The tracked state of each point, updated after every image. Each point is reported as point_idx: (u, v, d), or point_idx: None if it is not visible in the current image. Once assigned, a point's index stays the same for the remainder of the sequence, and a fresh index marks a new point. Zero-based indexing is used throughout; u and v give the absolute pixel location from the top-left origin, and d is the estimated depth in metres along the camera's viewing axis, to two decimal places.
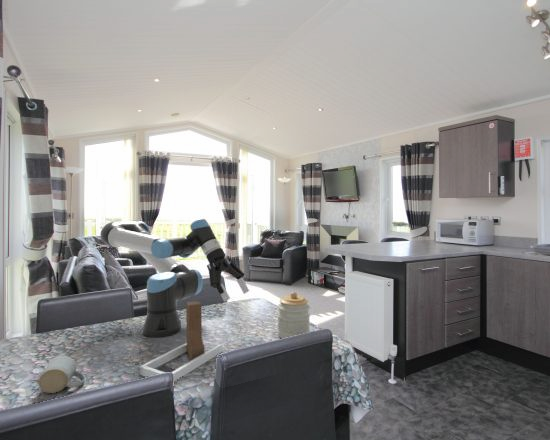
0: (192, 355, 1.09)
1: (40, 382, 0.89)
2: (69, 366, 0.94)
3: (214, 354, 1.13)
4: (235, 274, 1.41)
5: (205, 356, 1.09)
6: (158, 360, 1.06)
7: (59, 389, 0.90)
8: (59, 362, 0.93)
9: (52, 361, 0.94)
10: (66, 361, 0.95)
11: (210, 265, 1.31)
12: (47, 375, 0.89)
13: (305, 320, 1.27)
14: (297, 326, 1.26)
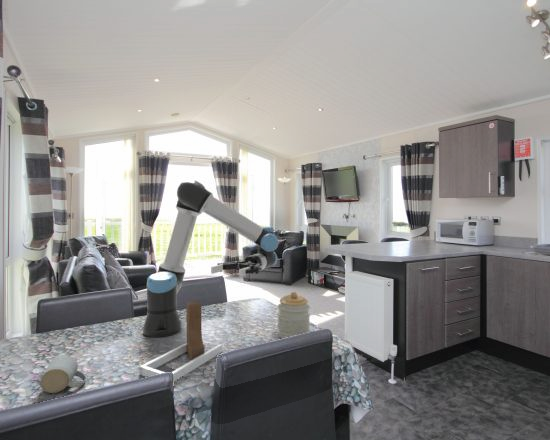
0: (192, 355, 1.09)
1: (42, 382, 0.89)
2: (70, 366, 0.94)
3: (214, 354, 1.13)
4: (228, 267, 1.38)
5: (205, 356, 1.09)
6: (158, 360, 1.06)
7: (61, 389, 0.90)
8: (60, 362, 0.93)
9: (53, 361, 0.94)
10: (67, 361, 0.95)
11: (261, 268, 1.38)
12: (49, 375, 0.89)
13: (305, 320, 1.27)
14: (297, 326, 1.26)
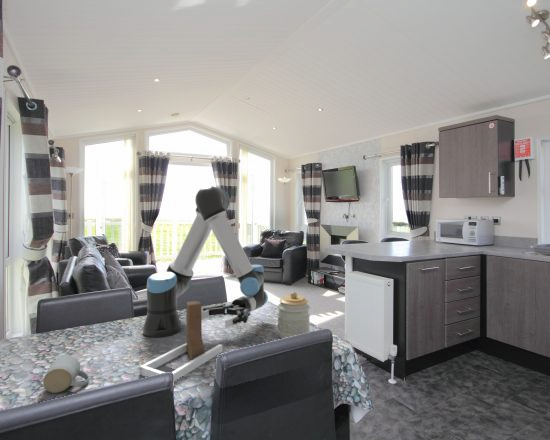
0: (192, 355, 1.09)
1: (45, 382, 0.89)
2: (73, 366, 0.95)
3: (214, 354, 1.13)
4: (214, 312, 1.30)
5: (205, 356, 1.09)
6: (158, 360, 1.06)
7: (63, 388, 0.91)
8: (63, 362, 0.94)
9: (56, 361, 0.94)
10: (70, 361, 0.95)
11: (249, 313, 1.30)
12: (52, 375, 0.89)
13: (305, 320, 1.27)
14: (297, 326, 1.26)
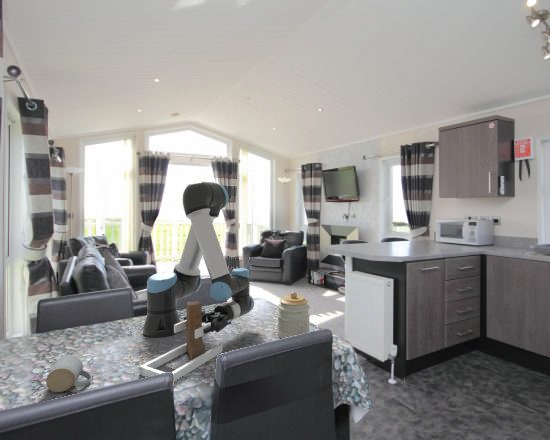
0: (192, 355, 1.09)
1: (47, 381, 0.89)
2: (76, 365, 0.95)
3: (214, 354, 1.13)
4: None
5: (205, 356, 1.09)
6: (158, 360, 1.06)
7: (66, 388, 0.91)
8: (66, 361, 0.94)
9: (59, 360, 0.95)
10: (73, 360, 0.95)
11: (229, 322, 1.20)
12: (55, 374, 0.90)
13: (305, 320, 1.27)
14: (297, 326, 1.26)
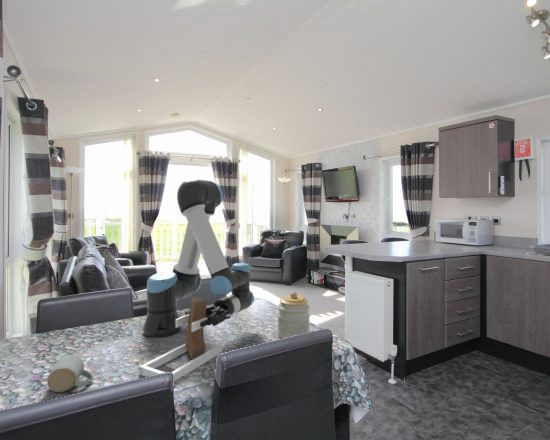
0: (193, 352, 1.08)
1: (49, 381, 0.89)
2: (77, 365, 0.95)
3: (214, 354, 1.13)
4: None
5: (205, 356, 1.09)
6: (158, 360, 1.06)
7: (67, 388, 0.91)
8: (67, 361, 0.94)
9: (60, 360, 0.95)
10: (74, 360, 0.95)
11: (228, 316, 1.20)
12: (56, 374, 0.90)
13: (305, 320, 1.27)
14: (297, 326, 1.26)
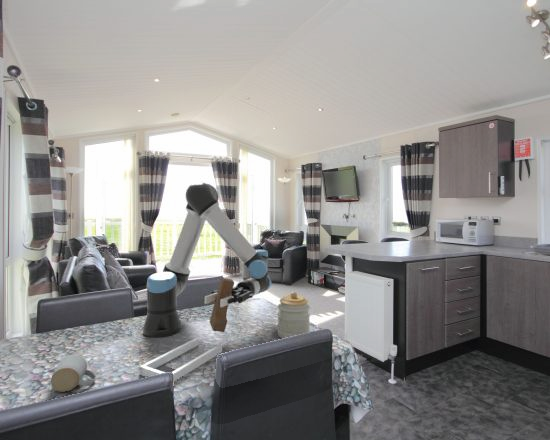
0: (215, 325, 1.19)
1: (52, 381, 0.90)
2: (80, 365, 0.95)
3: (214, 354, 1.13)
4: None
5: (205, 356, 1.09)
6: (158, 360, 1.06)
7: (71, 388, 0.91)
8: (71, 361, 0.94)
9: (63, 360, 0.95)
10: (77, 360, 0.96)
11: (251, 296, 1.32)
12: (59, 374, 0.90)
13: (305, 320, 1.27)
14: (297, 326, 1.26)
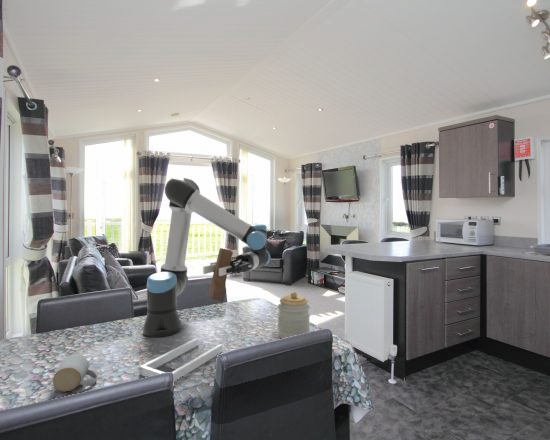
0: (214, 293, 1.19)
1: (54, 380, 0.90)
2: (82, 365, 0.95)
3: (214, 354, 1.13)
4: None
5: (205, 356, 1.09)
6: (158, 360, 1.06)
7: (73, 387, 0.91)
8: (72, 361, 0.94)
9: (65, 360, 0.95)
10: (79, 360, 0.96)
11: (250, 267, 1.31)
12: (61, 374, 0.90)
13: (305, 320, 1.27)
14: (297, 326, 1.26)
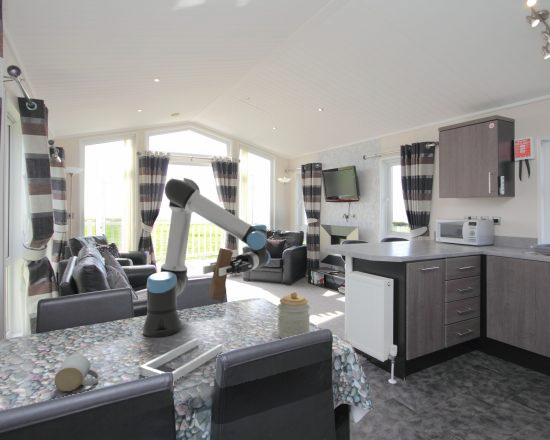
0: (214, 293, 1.19)
1: (56, 380, 0.90)
2: (84, 364, 0.95)
3: (214, 354, 1.13)
4: None
5: (205, 356, 1.09)
6: (158, 360, 1.06)
7: (74, 387, 0.91)
8: (74, 360, 0.94)
9: (67, 360, 0.95)
10: (80, 360, 0.96)
11: (250, 267, 1.31)
12: (63, 373, 0.90)
13: (305, 320, 1.27)
14: (297, 326, 1.26)
